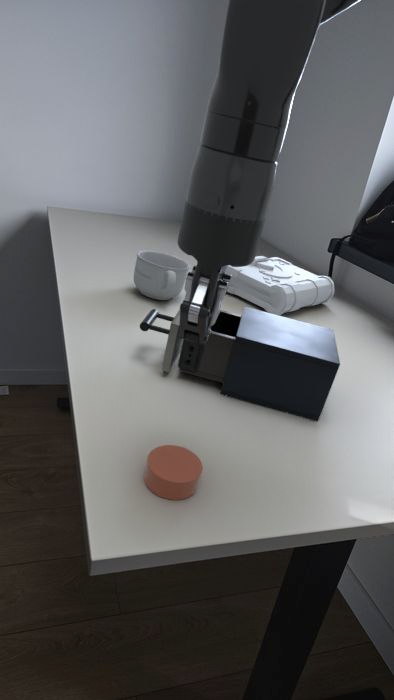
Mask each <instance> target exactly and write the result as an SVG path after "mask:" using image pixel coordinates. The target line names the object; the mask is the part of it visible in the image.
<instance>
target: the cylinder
mask: <svg viewBox="0 0 394 700" xmlns="http://www.w3.org/2000/svg"><path fill="white" fill-rule="evenodd" d="M203 469H204V467H203V463H202V460H201V459H200V457H199V456H198V455H197V454H196V453H195V452H193V451H192V450H190V449H188V448H186V447H184V446H180V445H174V444H164V445H159V446H157V447H155V448H153V449H151V451H150V452H149V453H148V455H147V458H146V463H145V468H144V473H143V481H144V484H145V486H146V487H147V488H148V490H150V492H152V494H154V495H156V496H158V497H161V498H163V499H167V500H172V501H180V500H185V499H188V498H190V497H192V496H194V494H196V492H197V490H198V488H199V484H200V481H201V478H202V477H201V476H202V474H203Z"/></svg>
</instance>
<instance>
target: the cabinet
mask: <svg viewBox="0 0 394 700" xmlns="http://www.w3.org/2000/svg"><path fill="white" fill-rule="evenodd" d="M241 315H242V317H241V320H240V324H239V328H238V331H237V335H236V339H235V342H234V346H233V350H232V353H231V357H230V361H229V364H228V368H227V372H226V375H225V379H224V383H222V386H221V390H220V395H222V394H223V395H222V396H225V395H227V396H226V397H228V398H229V397H230V398H232V397H233V399H236V400H240V401H243V402H247V403H250V404H254V405H258V406H261V407H265V408H270V409H273V410H275V411H279V412H283V413H286V412H288V413H287V414H290V415H293V414H294V415H293V416H297V417H301V416H302V417H301V418H304V417H305V419H308V418H309V419H308V420H311V419H312V421H315V422H319V420H320V418H321V415H322V412H323V410H324V408H325V404H326V402H327V400H328V397H329V394H330V392H331V389H332V387H333V384H334V382H335V379H336V376H337V374H338V372H339V368H340V366H341V362H340V357H339V351H338V347H337V342H336V341H337V340H336V336H335V331H334V329H331V328H327V327H323V326H320V325H316V324H312V323H308V322H305V321H301V320H298V319H293V318H289V317H286V316H282V315H275V314H271V313H267V311H263V310H259V309H255V308H251V307H248V306H243V310H242V314H241Z"/></svg>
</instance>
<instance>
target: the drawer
mask: <svg viewBox="0 0 394 700" xmlns="http://www.w3.org/2000/svg"><path fill="white" fill-rule="evenodd" d="M180 310H181V309H180V308H179V310H178V311H177V312H176V314H175V315H174V316H170V315H167V314H163V313H160V312H159V310H157V309H156V308H152V309H150V310H149V312H147V314H146V316H145V317H144V318H143V320H142V321H141V322H140V324H139V329H140V330H141V331H142V332H148V331H149V330H150V331H153V332H157V333H162V334H165V335H168V336H167V341H166V345H165V350H164V354H163V355H164V356H163V360H162V365H161V371H163V372H166V373H170V371H171V369H172V367H173V366H174V364H175V362H176V359H177V357H178V355H179V354H180V353H181V348H182V344H183V339H181V338H180V334H179V332H180ZM241 317H242V314H238V313H234V312H231V311H227V310H224V309H221V311H220V313H219V315H218V317H217V319H216V322H215V324H214V325H213V326H212V327H211V330H212V331H211V334H209V338H208V341H206V344H205V349H204V353H203V357H202V361H201V365H200V367H199V369H198V371H197V372H196V373H190V372H187V371H183V370H180V369H179V368H178V371H179V372H182V373H185V374H188V375H193V376H196V377H200V378H203V379H206V380H211V381H214V382H218V383H222V384H223V383H224V379H225V375H226V372H227V368H228V364H229V361H230V357H231V353H232V350H233V346H234V342H235V339H236V335H237V331H238V328H239V324H240V320H241ZM157 319H161V320H164V321H168V322H171V323H170V327H169V329H168V328H165V327H161V326H157V325H154V323H155V321H156V320H157Z"/></svg>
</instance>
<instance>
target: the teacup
mask: <svg viewBox="0 0 394 700" xmlns="http://www.w3.org/2000/svg"><path fill="white" fill-rule="evenodd" d="M190 266H191V265H190V264H189V263H188V262H187V261H186V260H184V259H182V258H180V257H178V256H176V255H172V254H170V253H165V252H162V251H157V250H139V251H138V252H137V253H136V261H135V265H134V270H133V283H134V285H135V287H136V288H137V289H138V291H139V292H140V293H141V295H143V296H145V297H147V298H150V299H153V300H159V301H168V300H172V299H174V298H175V297H177V296H179V295H180V294H181V292H182V291H183V289H184V287H185V282H186V278H187V274H188V272H189V269H190Z"/></svg>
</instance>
